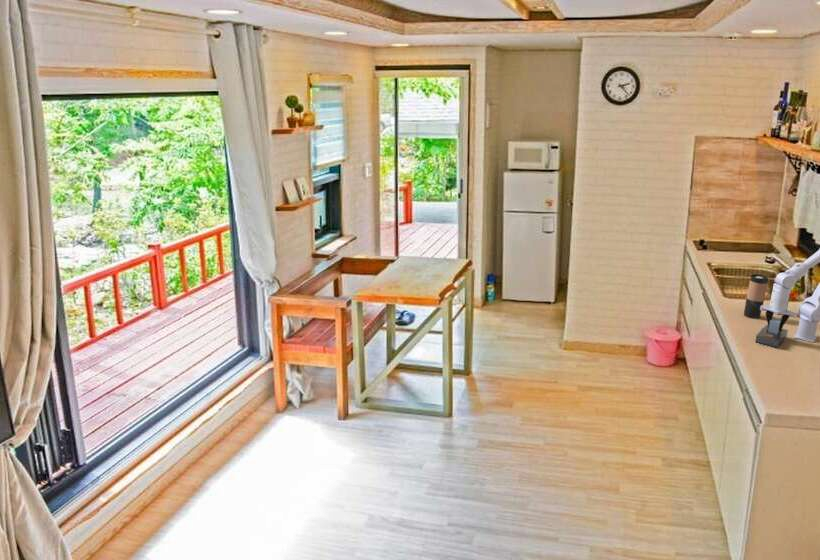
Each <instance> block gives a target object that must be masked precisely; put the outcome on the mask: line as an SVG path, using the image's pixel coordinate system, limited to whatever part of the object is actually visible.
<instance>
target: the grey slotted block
mask: <svg viewBox="0 0 820 560" xmlns="http://www.w3.org/2000/svg"><path fill="white" fill-rule="evenodd" d="M788 333H789V330H788V329H785V328H782V330H781V331H780V333H779V334H775V333H770V332H768V324H766V325H765V326H763V328H762V329H761V330H760V331H759V332H758V333H757V334H756V336H755V341H754V343H755V342H756V343H755V344H757V343H759V344H758V345H761V344H763V345H762V346H765V345H767V347H769V346H770V348H773V347H774V349H778V348H780V346H781V345H782V344H783V343H784V341H786V339H787V337H788Z"/></svg>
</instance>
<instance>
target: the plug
mask: <svg viewBox="0 0 820 560" xmlns="http://www.w3.org/2000/svg"><path fill="white" fill-rule="evenodd" d="M780 324H781V318H778V317H772V319H771V320H770V323H769V328H768V332H770V333H775V334H779V333H780V331H779V328H780Z"/></svg>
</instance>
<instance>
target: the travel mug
mask: <svg viewBox="0 0 820 560" xmlns="http://www.w3.org/2000/svg"><path fill="white" fill-rule="evenodd" d="M768 282H769V277H768V276H767V275H762V274H758V273H756V274H751V275H750V279H749V284H748V289H747V292H746V293H747V294H746V297H745V299H746V300H745V305H744V311H743V316H744V317H746V318H749V319H755V318H757V319H760V317H761V314H762V311H761V310H760V307H761V305H763V306H764V301H765V296H766V292H767V286H768Z"/></svg>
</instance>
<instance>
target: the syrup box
mask: <svg viewBox="0 0 820 560" xmlns="http://www.w3.org/2000/svg"><path fill="white" fill-rule="evenodd" d="M772 286H773V287H772V292H771V297H770V302H769V306H770V307H772V304H773V299H774V295H775V290H776V287H775V286H776V283H773V285H772ZM791 291H792V289H791V290H790V294H789V299H788V304H787V308H786V310H788V307H789V306H788V305H789V302H790V297H791V296H790V295H791ZM774 314H775V315H777V316H778V315H779V314H776V313H774Z"/></svg>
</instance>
